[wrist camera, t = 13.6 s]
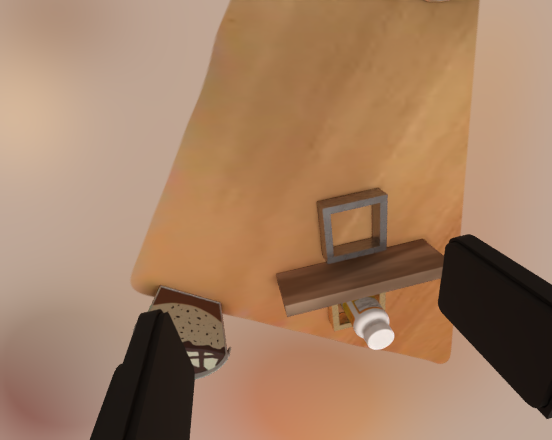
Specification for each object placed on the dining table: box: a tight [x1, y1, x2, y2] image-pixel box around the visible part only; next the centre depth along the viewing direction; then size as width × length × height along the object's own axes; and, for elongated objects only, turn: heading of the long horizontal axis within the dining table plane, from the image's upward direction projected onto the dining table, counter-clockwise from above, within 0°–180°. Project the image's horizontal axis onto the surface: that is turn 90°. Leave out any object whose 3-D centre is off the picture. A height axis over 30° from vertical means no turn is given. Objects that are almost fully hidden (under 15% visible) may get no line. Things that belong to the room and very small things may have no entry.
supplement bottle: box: [341, 295, 394, 350], centre depth 44 cm, size 5×5×10 cm
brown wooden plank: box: [276, 239, 444, 317], centre depth 42 cm, size 2×24×7 cm, turn 99°
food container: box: [133, 285, 231, 379], centre depth 40 cm, size 12×6×10 cm, turn 61°
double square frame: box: [317, 188, 388, 331], centre depth 44 cm, size 23×9×2 cm, turn 9°
